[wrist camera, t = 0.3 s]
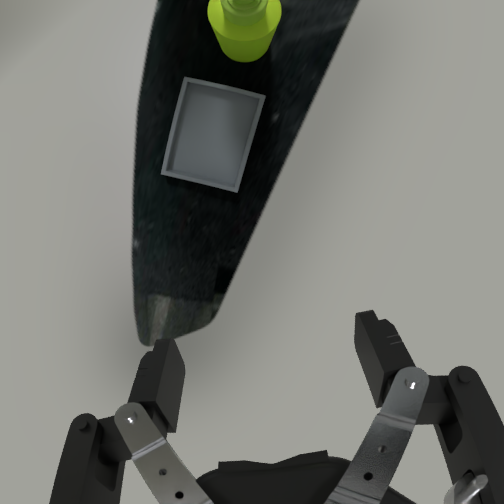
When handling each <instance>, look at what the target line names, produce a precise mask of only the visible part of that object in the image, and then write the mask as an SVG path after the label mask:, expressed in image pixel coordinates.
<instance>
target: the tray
mask: <svg viewBox="0 0 504 504" xmlns="http://www.w3.org/2000/svg"><path fill="white" fill-rule="evenodd" d="M265 97H266V96H265V95H261V94H257V93H254V92H250V91H246V90H242V89H238V88H234V87H230V86H226V85H222V84H217V83H213V82H208V81H203V80H198V79H193V78H188V77H184V80H183V84H182V87H181V91H180V95H179V98H178V102H177V106H176V110H175V114H174V118H173V122H172V126H171V130H170V135H169V139H168V143H167V148H166V152H165V157H164V162H163V167H162V171H161V174H162V175H167V176H171V177H175V178H179V179H184V180H188V181H192V182H196V183H200V184H205V185H209V186H213V187H217V188H221V189H225V190H229V191H233V192H236V193H238V189H239V186H240V182H241V179H242V175H243V172H244V168H245V165H246V161H247V158H248V154H249V151H250V147H251V144H252V140H253V137H254V134H255V130H256V127H257V123H258V120H259V117H260V113H261V110H262V107H263V103H264V100H265Z"/></svg>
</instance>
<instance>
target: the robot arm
mask: <svg viewBox="0 0 504 504" xmlns="http://www.w3.org/2000/svg"><path fill="white" fill-rule="evenodd" d="M354 342H355V349H356V352H357V355H358V358H359V360H360V363H361V366H362V368H363V371H364V374H365V377H366V379H367V382H368V385H369V388H370V391H371V393H372V396H373V399H374V402H375V405H376V408H379V407H382V408H381V410H380V412H379V414H377V415H376V417H375V418H374V420H373V422H372V424H371V426H370V428H369V431H368V432H367V434H366V436H365V438H364V440H363V442H362V444H361V445H360V447H359V449H358V451H357V453H356V455H355V456H354V458H353V460H352V461H349V460H347V459H343V458H339V457H329V456H328V453H327V450H324V451H318V452H312V453H306V454H300V455H297V456H295V457H292V458H289V459H286V460H283V461H280V462H278V463H274V464H267V463H259V462H251V461H227V462H219V464H218V469H215V470H212V471H209V472H208V473H205V474H203V475H202V476H201V477H199V478H198V479H195V477H194V476H193V475H192V474H191V472H190V471H189V470H188V469H187V467H186V466H185V465H184V464H183V462H182V461H181V460H180V458H179V457H178V455H177V454H176V453H175V451H174V450H173V449H172V447H171V446H170V444H169V443H168V442H167V440H166V437H167V433H176V427H177V421H178V415H179V408H180V402H181V396H182V389H183V384H184V378H185V365H184V362H183V359H182V357H181V354H180V352H179V350H178V347H177V345H176V342H175V340H174V339H173V338H171V339H160V340H156V342H155V345H154V348H153V351H149V352H147V353H146V354H145V355H144V356H143V358H142V359H141V361H140V364H139V367H138V371H137V373H136V378H135V380H134V383H133V386H132V390H131V393H130V397H129V400H128V403H127V404H124V405H123V406H121V407H120V408H119V409H118V410H117V411H116V413H115V415H114V416H111V417H108V418H103V419H99V420H97V419H96V418H95V416H93V415H92V414H89V413H85V414H81V415H79V416H77V417H76V418H75V419H74V420H73V421H72V423H71V425H70V429H69V432H68V435H67V438H66V442H65V445H64V448H63V452H62V455H61V459H60V463H59V466H58V470H57V474H56V478H55V482H54V486H53V490H52V494H51V498H50V503H49V504H119V503H120V495H121V488H122V481H123V474H124V468H125V462H126V460H130V459H132V460H133V462H134V464H135V465H136V467H137V469H138V470H139V472H140V474H141V475H142V477H143V479H144V480H145V482H146V484H147V485H148V487H149V488H150V490H151V491H152V493H153V495H154V496H155V498H156V499H157V501H158V502H159V504H416V503H415V502H413V501H411V500H410V499H408V498H407V497H405V496H404V495H402V494H400V493H399V492H397V491H395V490H394V489H393V488H391V487H390V486H389V484H390V482H391V480H392V478H393V475H394V473H395V471H396V469H397V467H398V465H399V462H400V460H401V458H402V455H403V453H404V451H405V449H406V446H407V444H408V442H409V439H410V437H411V434H412V431H413V429H414V426H415V425H418V424H420V425H423V424H433V425H434V427H435V430H436V433H437V436H438V439H439V442H440V445H441V448H442V451H443V454H444V457H445V461H446V463H447V467H448V470H449V474H450V477H451V480H452V484H453V486H452V487H451V488H450V489H449V490H448V492H447V493H446V495H445V498H444V504H504V425H503V423H502V421H501V418H500V416H499V414H498V412H497V410H496V408H495V406H494V404H493V402H492V400H491V398H490V396H489V394H488V392H487V390H486V388H485V386H484V385H483V383H482V381H481V379H480V377H479V375H478V373H477V372H476V371H475V370H474V369H472V368H471V367H468V366H458V367H455V368H454V369H452V370H451V372H450V373H449V375H448V376H431V375H427V373H426V372H425V371H424V370H422V369H420V368H417V367H416V366H415V364H414V362H413V360H412V358H411V356H410V354H409V353H408V351H407V349H406V347H405V345H404V343H403V342H402V339H401V337H400V336H399V335H398V332H397V330H396V328H395V326H394V325H393V324H391V323H390V322H389V321H388V320H386V319H383V320H378V318H377V316H376V314H375V313H374V311H373V310H369V311H364V312H359V313H356V316H355V335H354Z"/></svg>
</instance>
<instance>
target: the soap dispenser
mask: <svg viewBox="0 0 504 504" xmlns="http://www.w3.org/2000/svg"><path fill="white" fill-rule="evenodd" d="M280 17H281V4H280V1H279V0H210V1H209V4H208V18H209V21H210V24H211V26H212V28H213V30H214V33H215V35H216V37H217V39H218V42H219V44H220V46H221V49H222V51H223V52H224V53H225V54H226V55H227V56H228V57H229V58H231V59H232V60H235V61H238V62H251V61H254V60H257V59H259V58H260V57H262V56H263V55H264V54H265V53H266V51H267V50H268V47H269V45H270V42H271V40H272V37H273V35H274V33H275V30H276V28H277V25H278V23H279V20H280Z"/></svg>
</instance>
